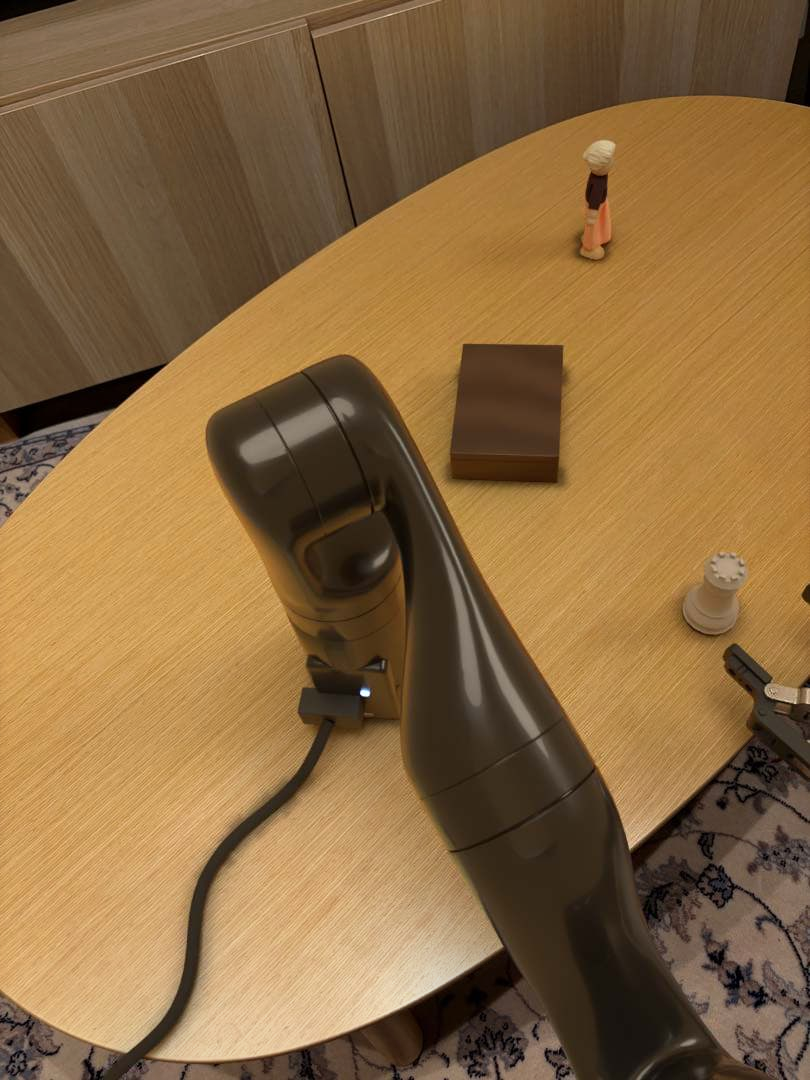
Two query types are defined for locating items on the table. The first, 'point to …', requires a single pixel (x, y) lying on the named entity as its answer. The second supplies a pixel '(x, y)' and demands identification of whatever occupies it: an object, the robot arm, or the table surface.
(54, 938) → the table surface
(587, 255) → the grandmother figurine
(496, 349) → the walnut box
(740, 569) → the rook chess piece
